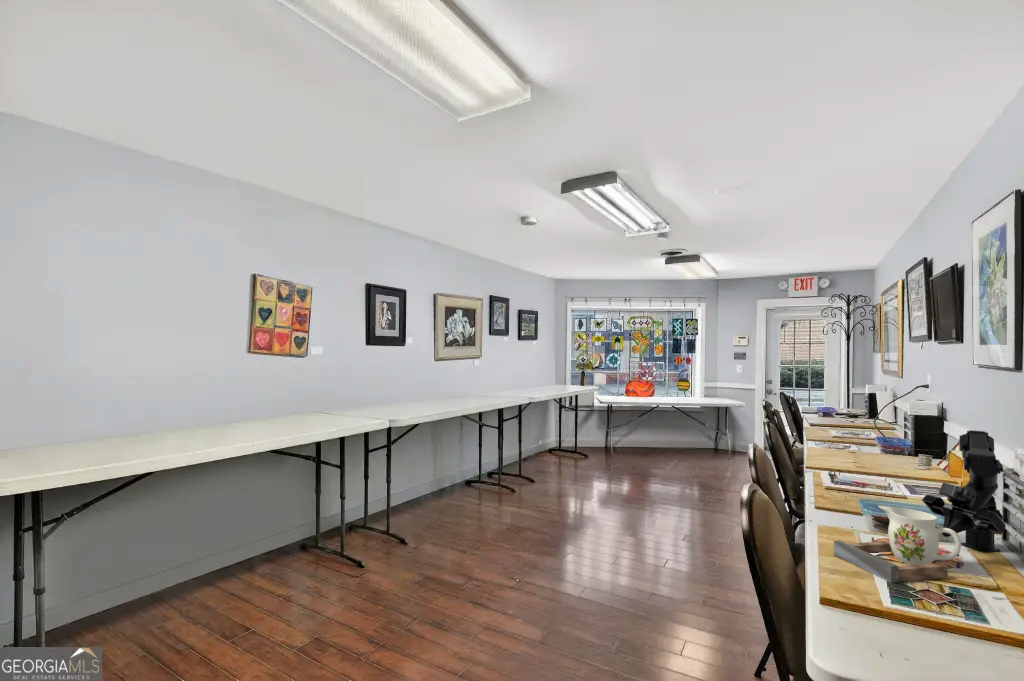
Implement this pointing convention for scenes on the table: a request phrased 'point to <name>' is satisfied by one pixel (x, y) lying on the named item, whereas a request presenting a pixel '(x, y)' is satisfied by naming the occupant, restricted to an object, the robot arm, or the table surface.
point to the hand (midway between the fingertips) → (944, 535)
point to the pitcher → (916, 536)
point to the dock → (886, 562)
